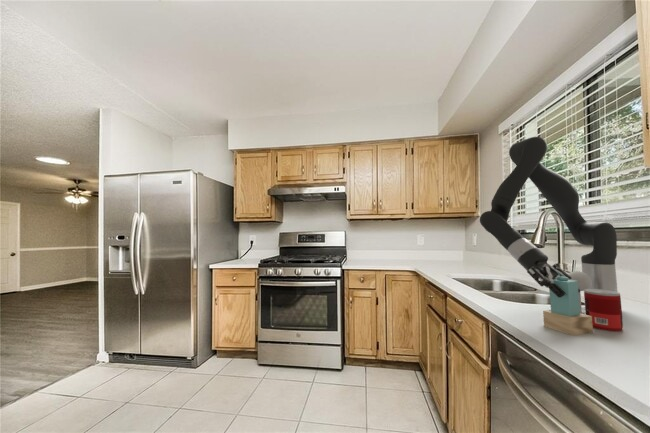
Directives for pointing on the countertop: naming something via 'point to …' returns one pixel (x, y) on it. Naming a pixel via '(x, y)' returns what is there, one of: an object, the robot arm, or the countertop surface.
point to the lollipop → (581, 282)
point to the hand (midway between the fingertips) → (570, 294)
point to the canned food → (604, 309)
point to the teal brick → (565, 298)
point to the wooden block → (568, 323)
